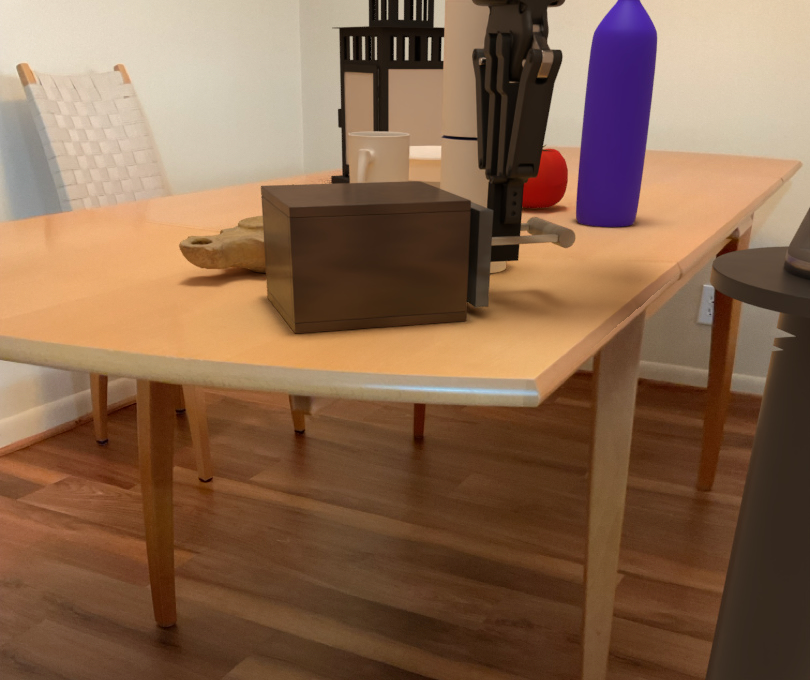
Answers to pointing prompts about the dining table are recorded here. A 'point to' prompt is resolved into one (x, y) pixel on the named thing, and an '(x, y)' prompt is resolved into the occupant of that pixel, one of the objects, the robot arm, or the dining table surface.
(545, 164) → the tomato
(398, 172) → the mug
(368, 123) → the lantern
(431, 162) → the bowl
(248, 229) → the oil lamp
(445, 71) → the cylindrical container
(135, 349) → the dining table surface
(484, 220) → the drawer
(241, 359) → the dining table surface
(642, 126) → the bottle
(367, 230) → the cabinet
